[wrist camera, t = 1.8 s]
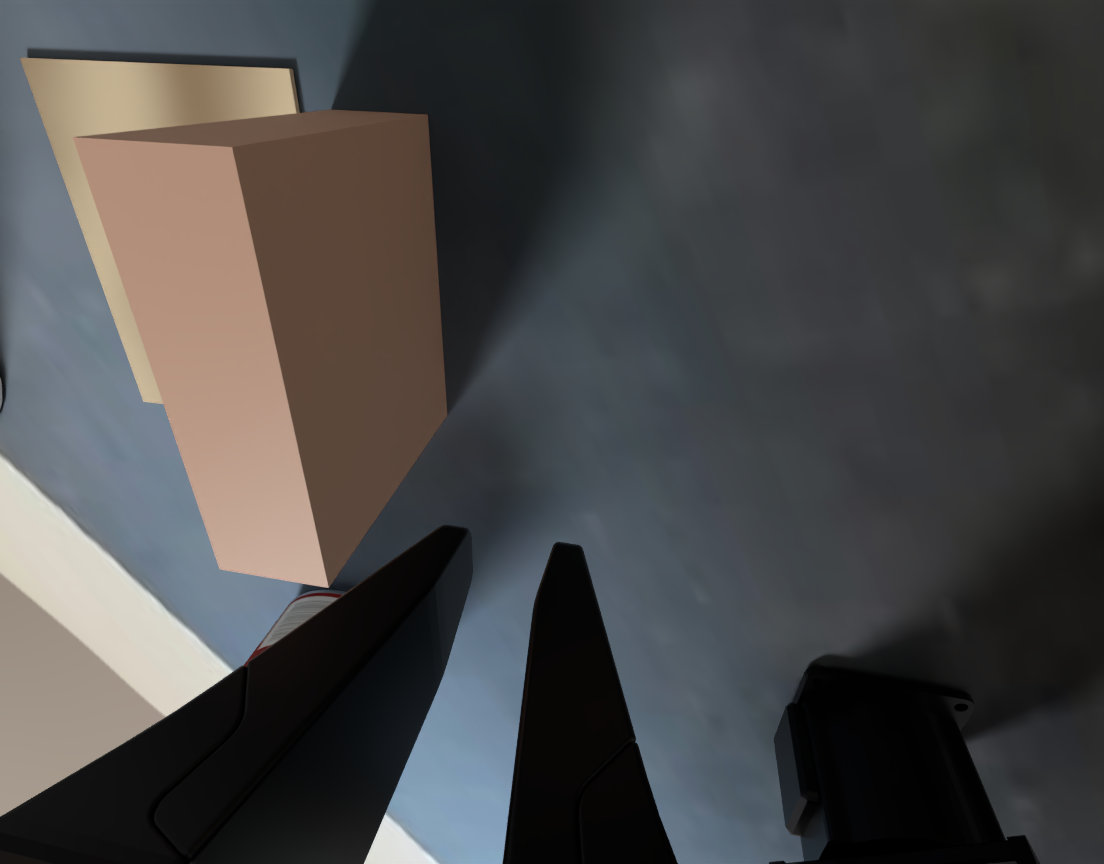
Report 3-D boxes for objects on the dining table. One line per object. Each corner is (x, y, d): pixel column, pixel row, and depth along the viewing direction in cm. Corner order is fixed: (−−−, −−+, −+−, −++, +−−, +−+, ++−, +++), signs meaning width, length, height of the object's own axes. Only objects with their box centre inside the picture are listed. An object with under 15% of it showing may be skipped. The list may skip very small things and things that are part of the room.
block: (428, 114, 17) (231, 147, 10) (447, 414, 23) (328, 588, 15) (325, 109, 18) (61, 136, 10) (367, 404, 23) (212, 568, 16)
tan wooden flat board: (292, 68, 17) (288, 68, 17) (350, 425, 24) (348, 428, 24) (25, 57, 19) (19, 57, 19) (147, 399, 25) (143, 401, 25)
